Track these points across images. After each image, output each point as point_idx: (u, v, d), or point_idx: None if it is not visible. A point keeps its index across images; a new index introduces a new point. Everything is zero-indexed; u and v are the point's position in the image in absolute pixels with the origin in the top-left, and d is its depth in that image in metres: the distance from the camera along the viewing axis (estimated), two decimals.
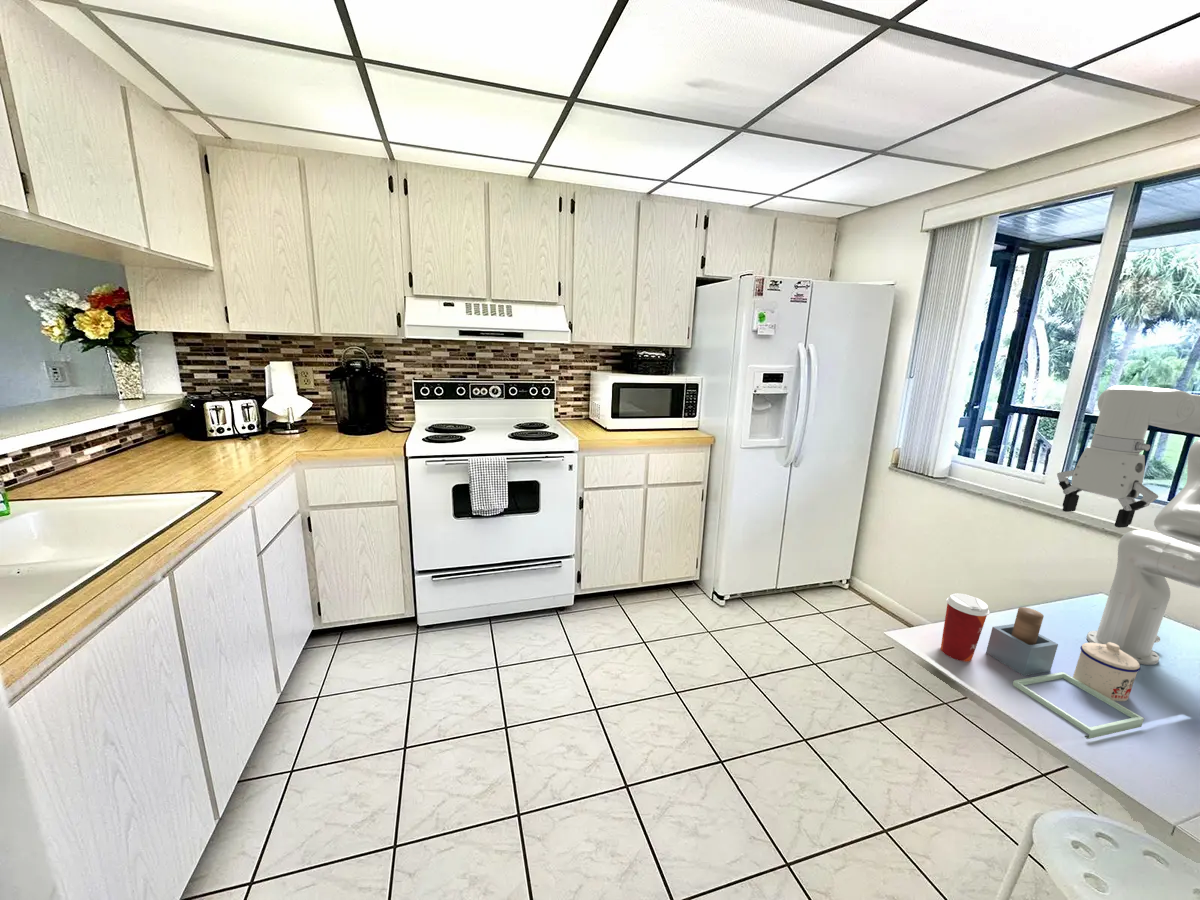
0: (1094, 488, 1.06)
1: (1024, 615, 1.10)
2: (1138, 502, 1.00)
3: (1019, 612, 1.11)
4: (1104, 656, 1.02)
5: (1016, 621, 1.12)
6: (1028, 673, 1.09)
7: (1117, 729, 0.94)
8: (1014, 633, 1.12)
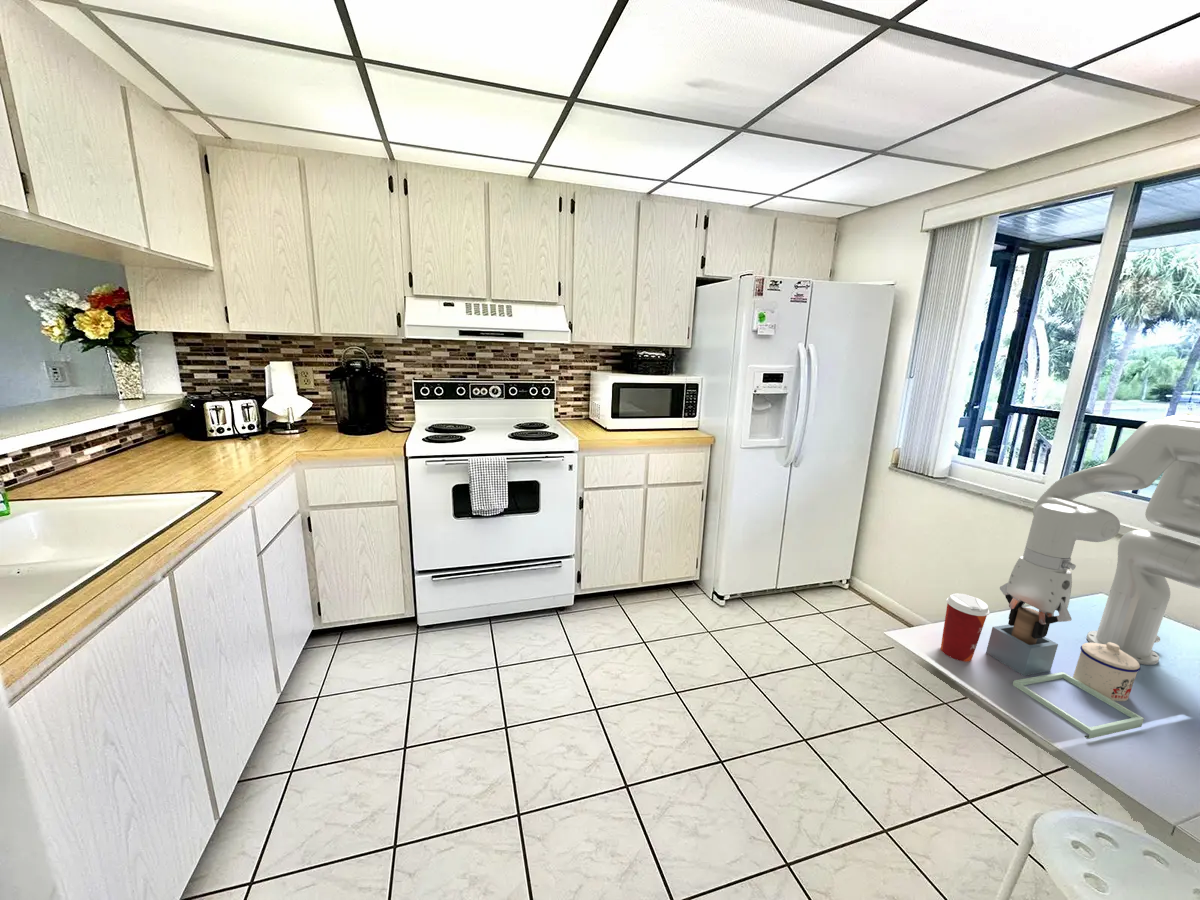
0: (1026, 598, 1.10)
1: (1024, 615, 1.10)
2: (1051, 618, 1.06)
3: (1019, 612, 1.11)
4: (1104, 656, 1.02)
5: (1016, 621, 1.12)
6: (1028, 673, 1.09)
7: (1117, 729, 0.94)
8: (1014, 633, 1.12)
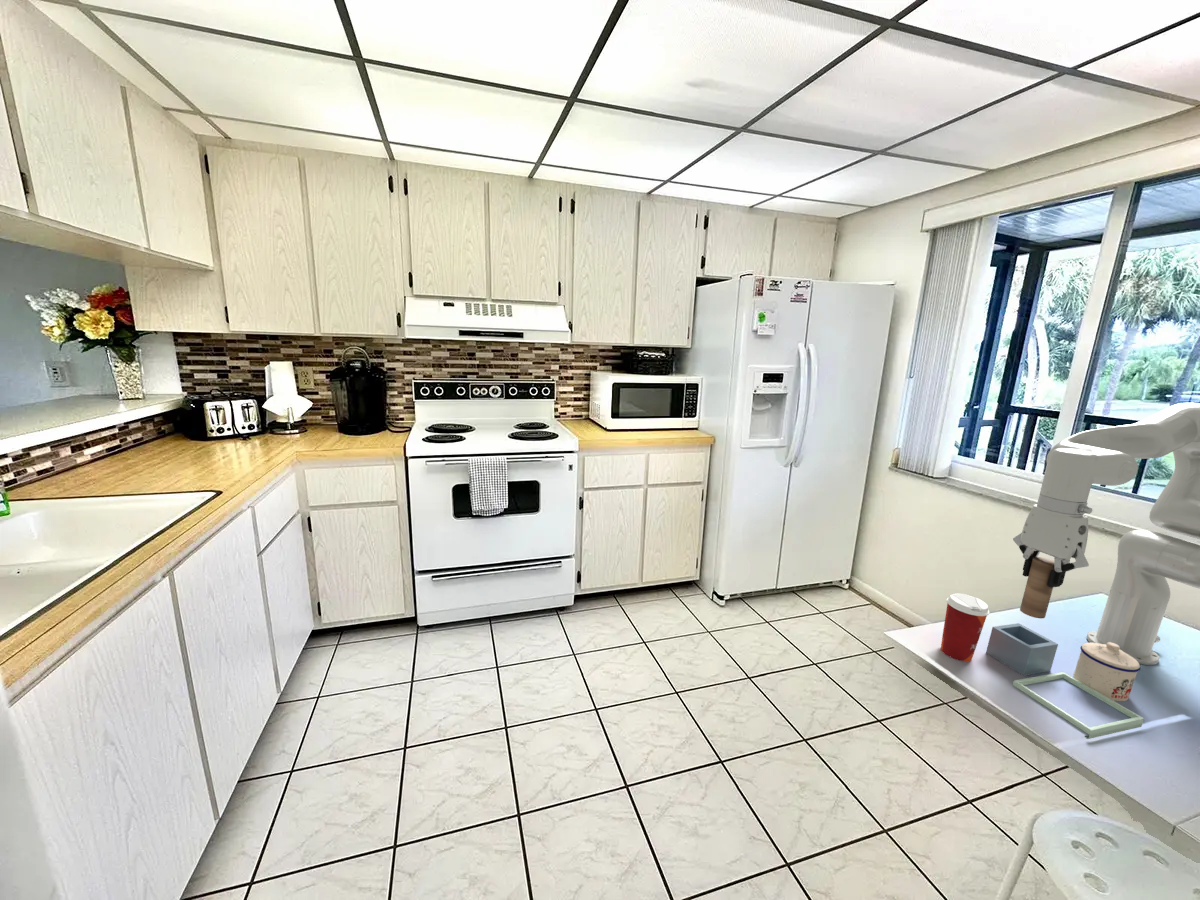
0: (1041, 547, 1.07)
1: (1039, 565, 1.07)
2: (1067, 564, 1.03)
3: (1034, 562, 1.08)
4: (1104, 656, 1.02)
5: (1031, 571, 1.09)
6: (1028, 673, 1.09)
7: (1117, 729, 0.94)
8: (1028, 584, 1.09)
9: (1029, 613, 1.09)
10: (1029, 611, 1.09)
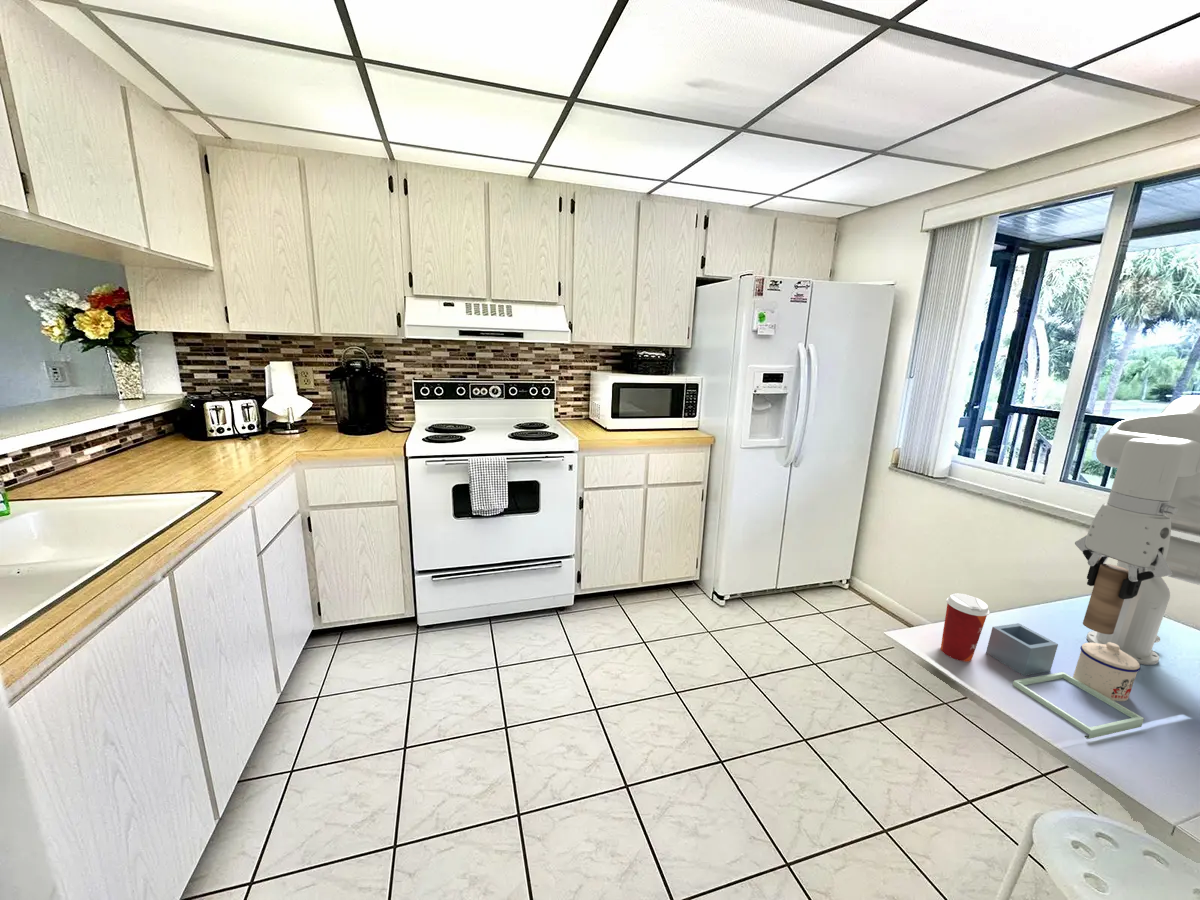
0: (1112, 552, 0.93)
1: (1108, 572, 0.93)
2: (1145, 573, 0.89)
3: (1102, 569, 0.94)
4: (1104, 656, 1.02)
5: (1098, 580, 0.95)
6: (1028, 673, 1.09)
7: (1117, 729, 0.94)
8: (1094, 595, 0.95)
9: (1095, 628, 0.95)
10: (1095, 626, 0.95)
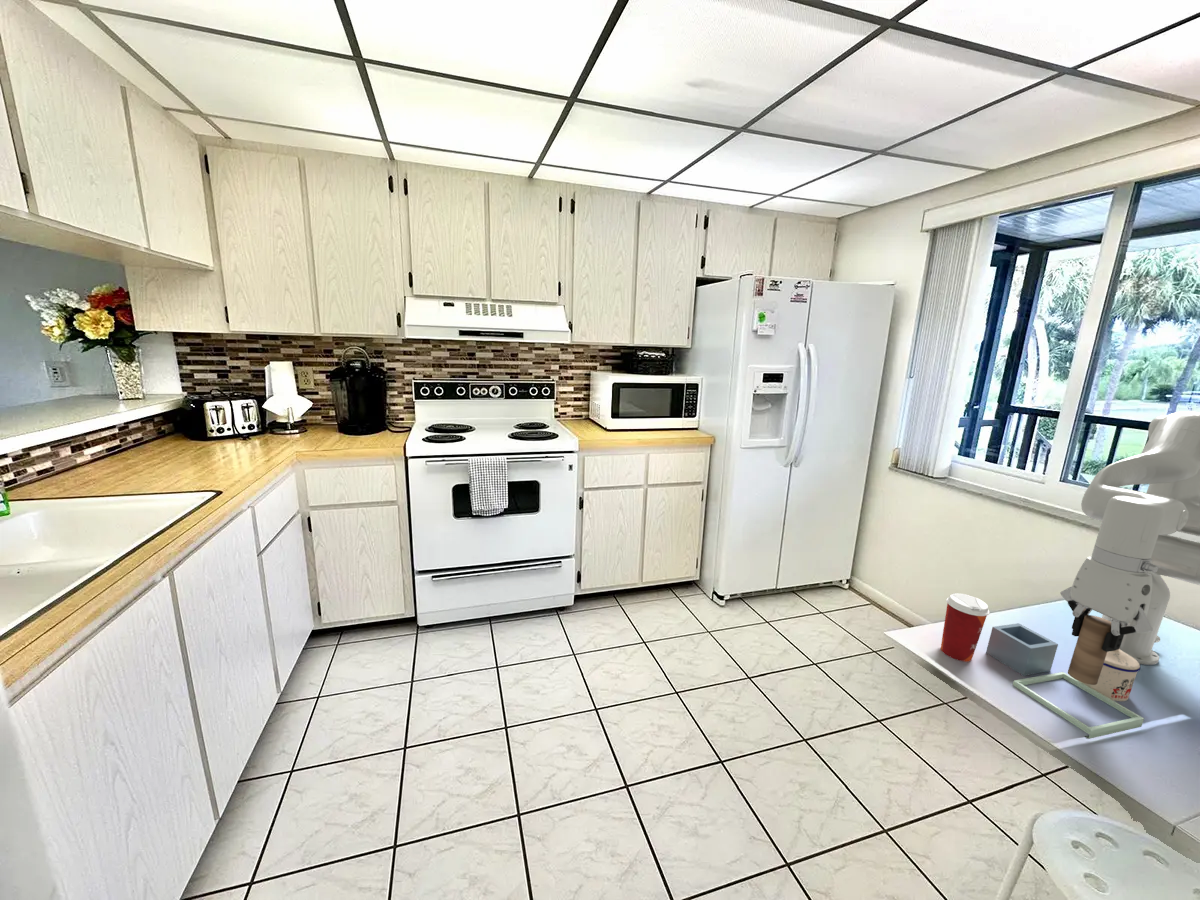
0: (1095, 605, 0.95)
1: (1092, 625, 0.95)
2: (1127, 628, 0.91)
3: (1086, 621, 0.97)
4: None
5: (1082, 631, 0.97)
6: (1028, 673, 1.09)
7: (1117, 729, 0.94)
8: (1079, 645, 0.98)
9: (1079, 678, 0.98)
10: (1079, 676, 0.98)
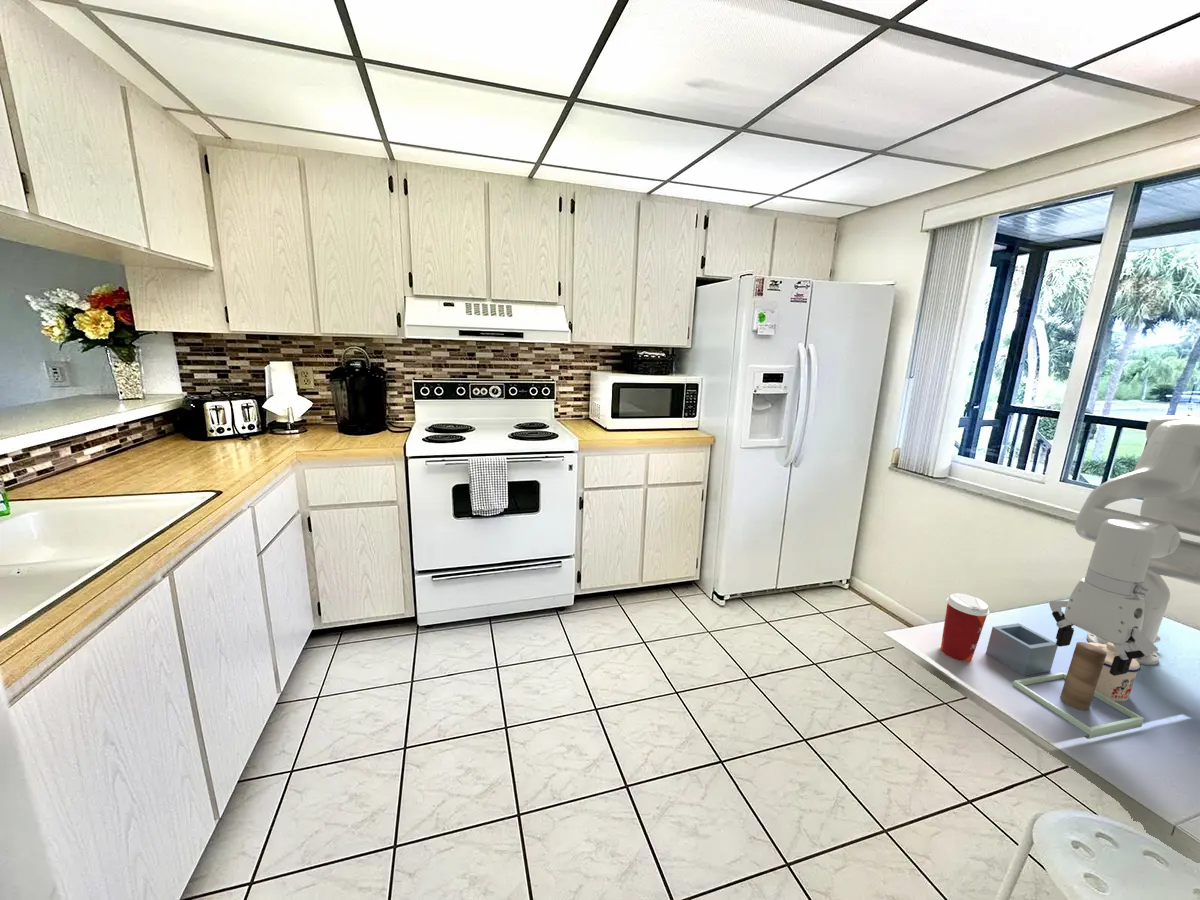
0: (1089, 626, 0.96)
1: (1084, 652, 0.97)
2: (1135, 652, 0.90)
3: (1078, 648, 0.98)
4: None
5: (1074, 658, 0.99)
6: (1028, 673, 1.09)
7: (1117, 729, 0.94)
8: (1071, 672, 0.99)
9: (1071, 704, 0.99)
10: (1071, 702, 0.99)
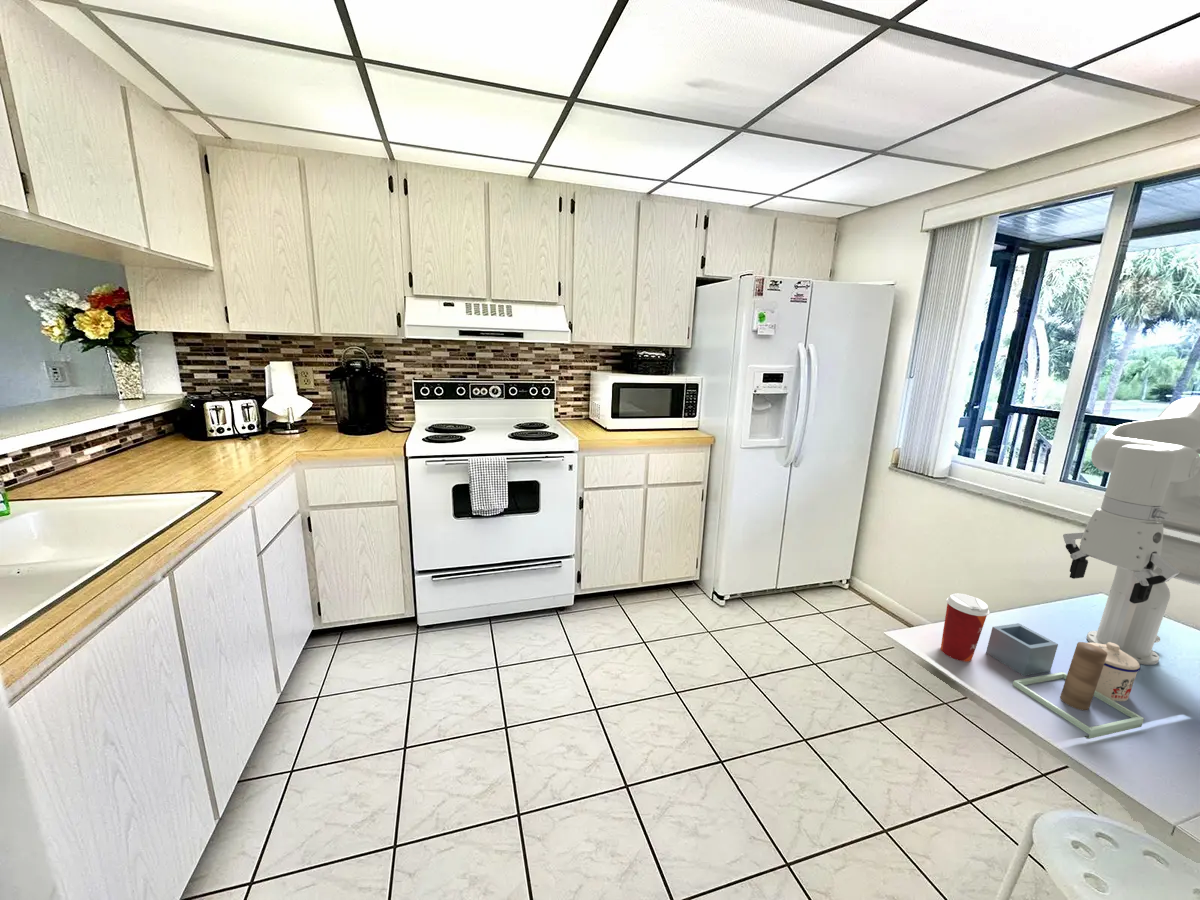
0: (1105, 556, 0.94)
1: (1085, 652, 0.97)
2: (1156, 577, 0.88)
3: (1079, 648, 0.98)
4: None
5: (1074, 658, 0.99)
6: (1028, 673, 1.09)
7: (1117, 729, 0.94)
8: (1071, 672, 0.99)
9: (1071, 704, 0.99)
10: (1071, 702, 0.99)
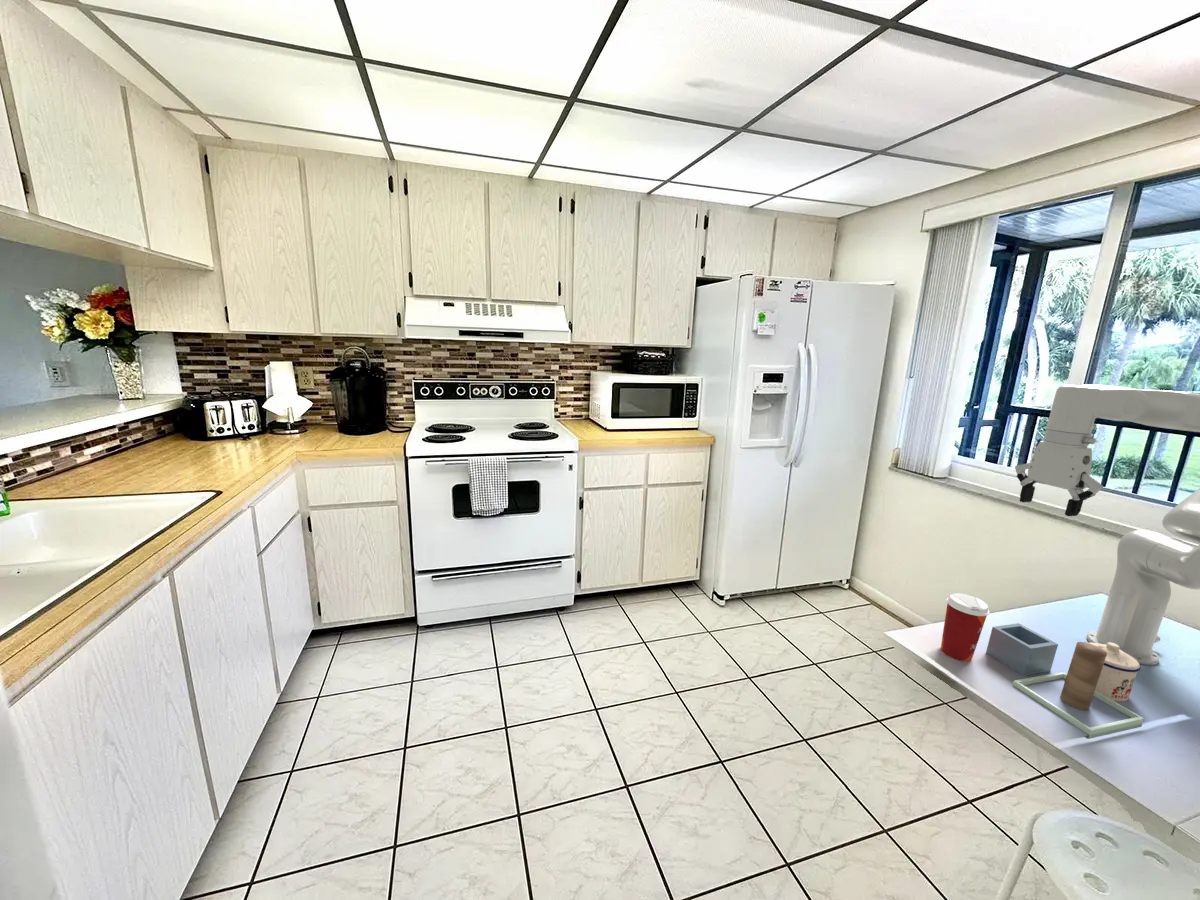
0: (1047, 479, 1.13)
1: (1084, 652, 0.97)
2: (1085, 492, 1.07)
3: (1078, 648, 0.98)
4: None
5: (1074, 658, 0.99)
6: (1028, 673, 1.09)
7: (1117, 729, 0.94)
8: (1071, 672, 0.99)
9: (1072, 704, 0.99)
10: (1072, 702, 0.99)
